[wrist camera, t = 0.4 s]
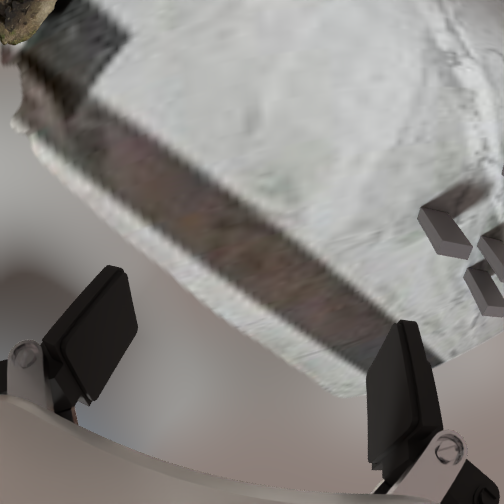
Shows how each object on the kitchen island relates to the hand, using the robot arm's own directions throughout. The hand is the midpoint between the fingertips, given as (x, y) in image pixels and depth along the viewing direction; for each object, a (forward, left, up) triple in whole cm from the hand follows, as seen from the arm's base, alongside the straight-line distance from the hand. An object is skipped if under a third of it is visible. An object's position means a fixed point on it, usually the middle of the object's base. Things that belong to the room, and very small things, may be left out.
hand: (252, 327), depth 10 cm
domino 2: (+11, +35, -35) cm, 50 cm away
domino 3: (+18, +35, -35) cm, 52 cm away
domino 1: (+9, +22, -35) cm, 42 cm away
